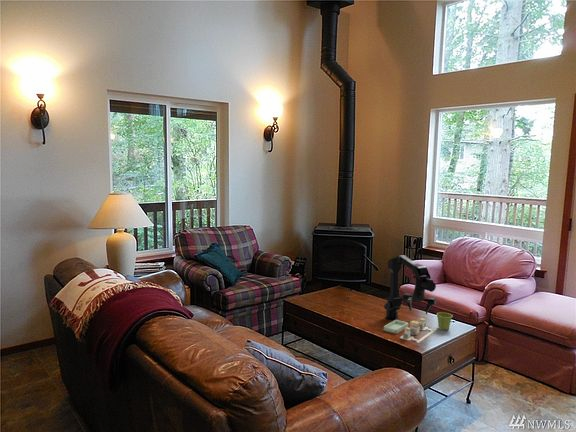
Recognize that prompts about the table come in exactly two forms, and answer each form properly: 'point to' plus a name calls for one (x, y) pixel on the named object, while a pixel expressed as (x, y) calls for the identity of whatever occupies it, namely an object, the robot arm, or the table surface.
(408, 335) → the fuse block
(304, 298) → the table surface
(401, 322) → the tray
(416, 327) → the block
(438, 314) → the plant pot
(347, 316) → the table surface
